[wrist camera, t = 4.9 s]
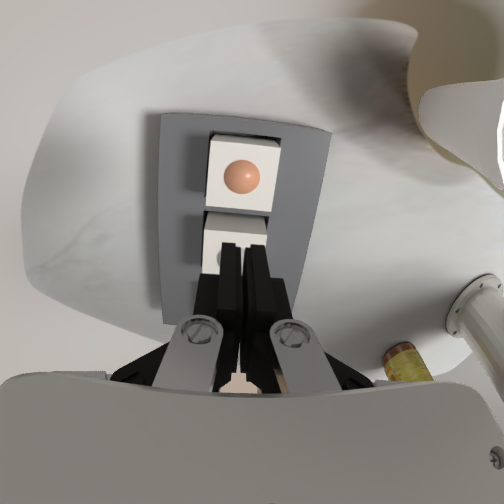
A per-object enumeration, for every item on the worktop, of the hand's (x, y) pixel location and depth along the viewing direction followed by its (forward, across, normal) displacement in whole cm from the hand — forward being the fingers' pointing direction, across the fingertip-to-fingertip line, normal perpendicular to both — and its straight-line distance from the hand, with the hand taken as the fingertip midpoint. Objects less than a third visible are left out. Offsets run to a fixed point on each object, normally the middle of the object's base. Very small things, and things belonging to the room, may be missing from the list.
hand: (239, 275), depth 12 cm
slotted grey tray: (+17, 0, +6) cm, 18 cm away
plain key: (+15, 0, +6) cm, 16 cm away
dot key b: (+15, 0, -1) cm, 15 cm away
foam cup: (+18, -20, -10) cm, 29 cm away
